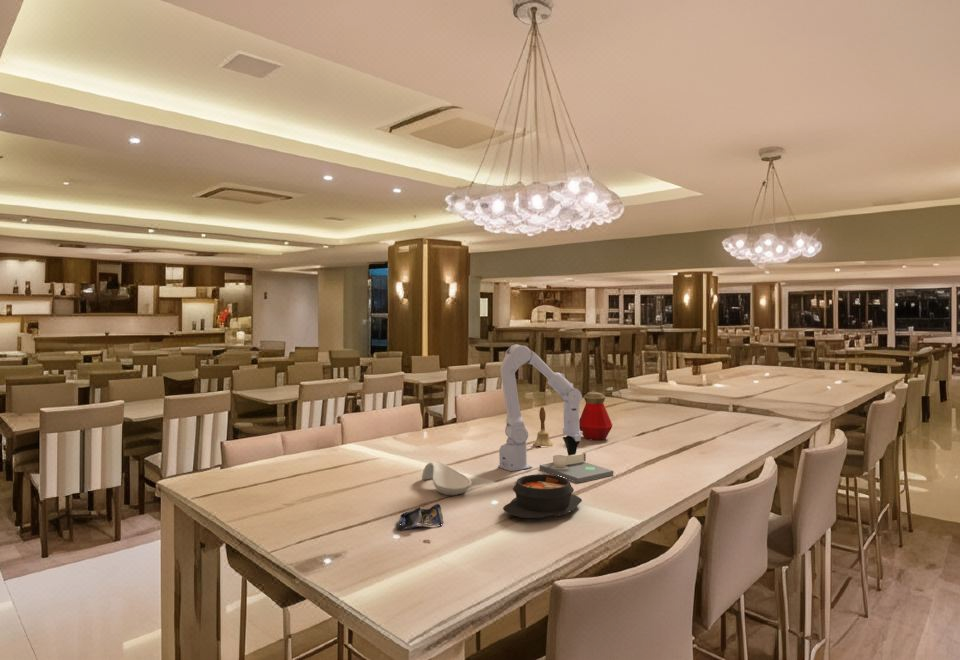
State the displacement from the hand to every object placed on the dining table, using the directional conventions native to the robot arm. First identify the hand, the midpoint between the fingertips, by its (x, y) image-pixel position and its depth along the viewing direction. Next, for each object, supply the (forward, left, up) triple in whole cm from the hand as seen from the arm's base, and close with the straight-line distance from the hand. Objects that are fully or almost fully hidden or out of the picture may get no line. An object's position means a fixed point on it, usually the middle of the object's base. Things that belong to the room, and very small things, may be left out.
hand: (571, 456), depth 212 cm
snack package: (-75, -24, -3) cm, 79 cm away
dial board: (-7, -9, -3) cm, 12 cm away
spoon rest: (-53, +1, -3) cm, 53 cm away
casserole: (-41, -33, -3) cm, 53 cm away
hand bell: (+10, +30, -3) cm, 32 cm away
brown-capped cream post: (-6, -5, -1) cm, 8 cm away
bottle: (+37, +27, -3) cm, 46 cm away
